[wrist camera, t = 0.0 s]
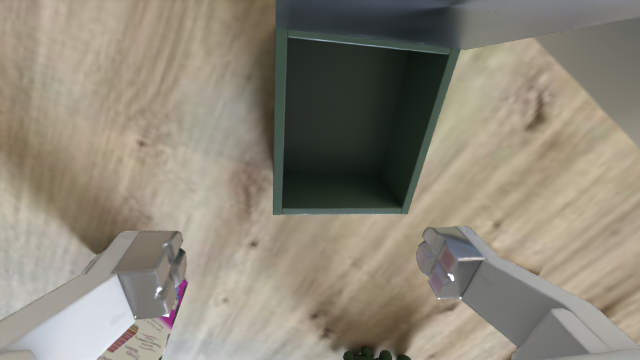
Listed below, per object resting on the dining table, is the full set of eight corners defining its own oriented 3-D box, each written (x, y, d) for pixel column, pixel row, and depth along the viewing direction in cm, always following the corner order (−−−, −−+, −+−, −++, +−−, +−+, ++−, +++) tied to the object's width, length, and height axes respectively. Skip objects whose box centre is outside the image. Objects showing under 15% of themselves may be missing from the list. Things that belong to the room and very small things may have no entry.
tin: (381, 177, 33) (407, 214, 27) (274, 175, 31) (272, 215, 24) (415, 40, 26) (463, 43, 19) (276, 23, 24) (275, 21, 17)
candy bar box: (93, 256, 33) (-43, 423, 19) (120, 237, 32) (-1, 396, 18) (165, 298, 39) (101, 451, 25) (190, 282, 38) (138, 431, 24)
